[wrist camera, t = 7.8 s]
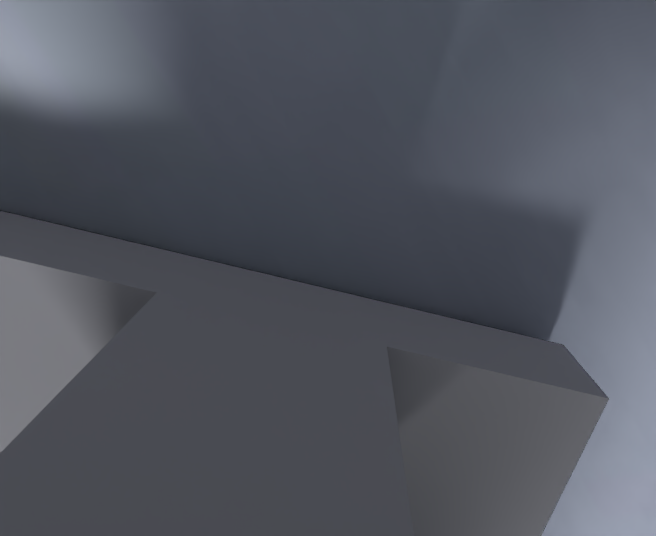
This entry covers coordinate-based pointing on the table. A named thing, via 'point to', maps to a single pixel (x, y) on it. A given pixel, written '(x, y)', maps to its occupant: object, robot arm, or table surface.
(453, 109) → the table surface
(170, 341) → the gray t-shaped pedestal
